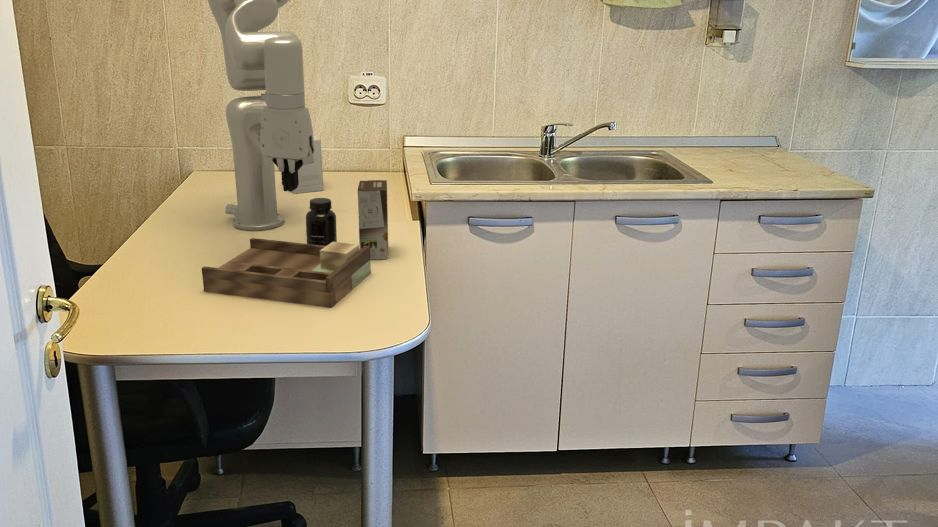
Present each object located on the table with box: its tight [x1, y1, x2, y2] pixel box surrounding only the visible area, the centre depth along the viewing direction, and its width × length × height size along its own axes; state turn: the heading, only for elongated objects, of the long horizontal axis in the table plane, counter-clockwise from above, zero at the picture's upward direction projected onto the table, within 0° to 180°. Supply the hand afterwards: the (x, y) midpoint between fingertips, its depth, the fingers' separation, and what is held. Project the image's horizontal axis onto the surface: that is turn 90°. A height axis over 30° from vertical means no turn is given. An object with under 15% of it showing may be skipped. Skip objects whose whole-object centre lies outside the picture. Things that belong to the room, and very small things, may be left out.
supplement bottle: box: [305, 197, 338, 246], centre depth 197 cm, size 7×7×12 cm
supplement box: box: [289, 133, 325, 195], centre depth 247 cm, size 9×9×15 cm
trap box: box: [201, 237, 372, 308], centre depth 179 cm, size 28×20×6 cm
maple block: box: [320, 241, 360, 271], centre depth 180 cm, size 6×6×4 cm
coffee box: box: [357, 179, 389, 260], centre depth 195 cm, size 9×6×16 cm
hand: (290, 189), depth 179 cm, fingers closed
